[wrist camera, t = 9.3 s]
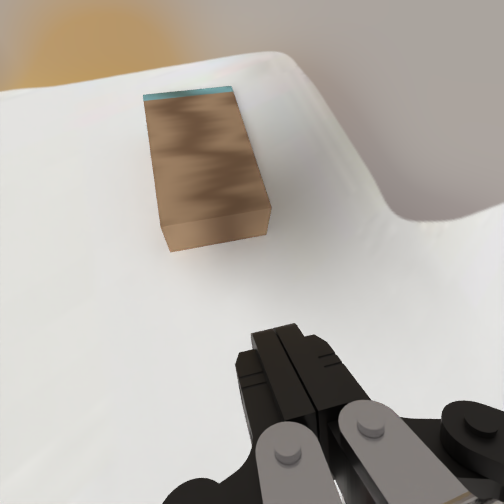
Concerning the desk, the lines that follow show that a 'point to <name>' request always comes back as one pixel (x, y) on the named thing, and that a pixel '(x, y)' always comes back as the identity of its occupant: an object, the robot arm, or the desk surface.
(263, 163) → the desk surface
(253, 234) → the walnut block
